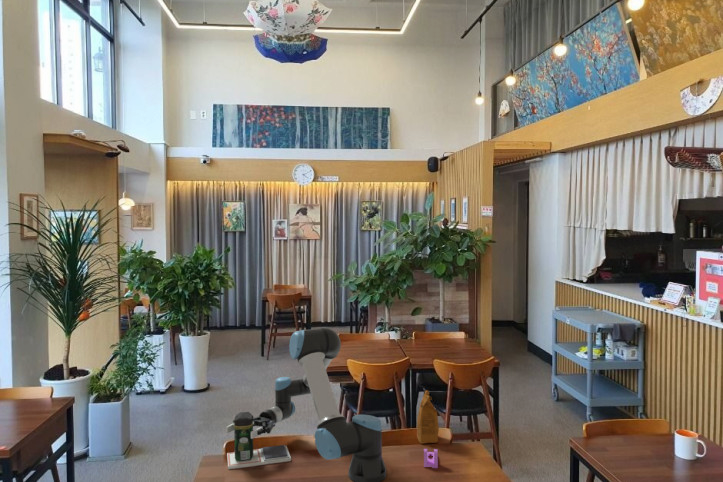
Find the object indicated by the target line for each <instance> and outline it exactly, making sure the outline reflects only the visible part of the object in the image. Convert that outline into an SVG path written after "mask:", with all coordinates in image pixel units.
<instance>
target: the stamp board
mask: <svg viewBox="0 0 723 482" xmlns="http://www.w3.org/2000/svg"><path fill="white" fill-rule="evenodd" d="M285 446H286V448H287V451H288V453H289V456H290V458H284V459H277V460H269V461H264V460H263V456H262V452H261V448H256V449H253V457H252V459H250V460H246V461H238V460H236V459H235V451H233V452H227V453H226V458H227V469H228V470H234V469H243V468H248V467H256V466H263V465H271V464H272V465H273V464H278V463H285V462H291V461H292V457H291V454H290V452H289V448H288V447H287V445H285Z"/></svg>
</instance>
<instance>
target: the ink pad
mask: <svg viewBox="0 0 723 482" xmlns="http://www.w3.org/2000/svg"><path fill="white" fill-rule="evenodd" d="M286 446H287V445H285V444H280V445H273V446H272V445H271V446H265V447H261V448H260V449H261V452H262V456H263V460H264V461H269V460H277V459H284V458H290V457H291V455H290V456H289V454H290V452H289V453H288V451H289V450H288V451H287V449H288V447H287V448H286Z"/></svg>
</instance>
